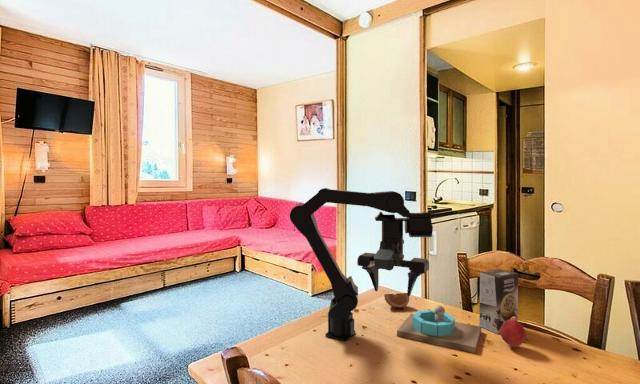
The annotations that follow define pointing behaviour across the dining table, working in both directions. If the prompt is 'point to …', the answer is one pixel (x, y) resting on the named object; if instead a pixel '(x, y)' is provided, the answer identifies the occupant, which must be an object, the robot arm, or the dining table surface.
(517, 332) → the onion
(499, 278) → the coffee box
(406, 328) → the hook board
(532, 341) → the dining table surface
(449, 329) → the teal octagonal ring
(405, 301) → the fruit slice
